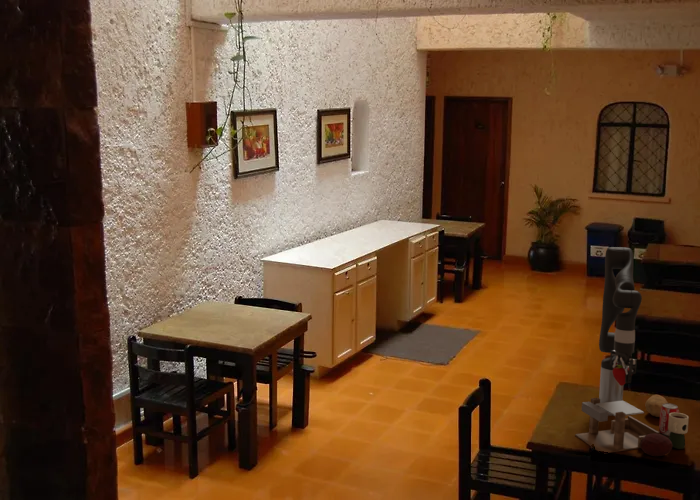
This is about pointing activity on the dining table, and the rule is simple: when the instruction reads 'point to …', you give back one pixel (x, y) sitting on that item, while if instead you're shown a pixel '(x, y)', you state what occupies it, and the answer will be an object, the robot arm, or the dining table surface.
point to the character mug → (678, 429)
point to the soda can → (666, 417)
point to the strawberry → (619, 374)
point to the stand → (616, 433)
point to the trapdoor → (608, 409)
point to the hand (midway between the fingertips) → (621, 379)
